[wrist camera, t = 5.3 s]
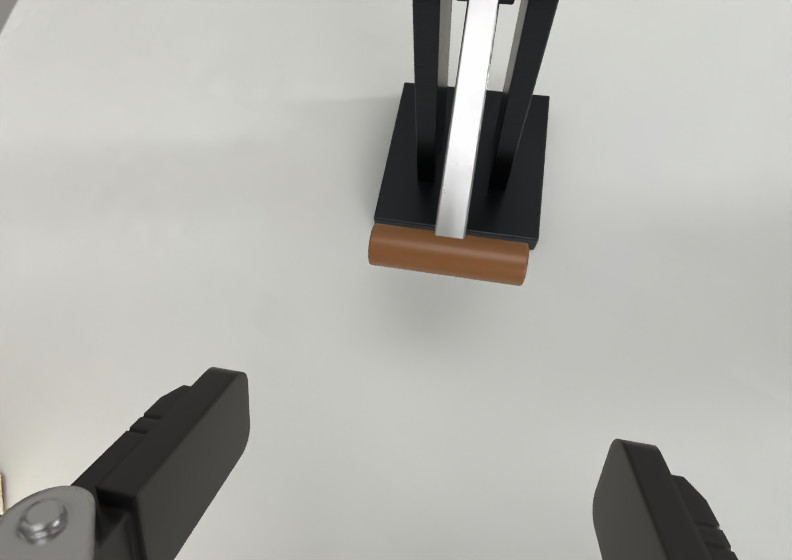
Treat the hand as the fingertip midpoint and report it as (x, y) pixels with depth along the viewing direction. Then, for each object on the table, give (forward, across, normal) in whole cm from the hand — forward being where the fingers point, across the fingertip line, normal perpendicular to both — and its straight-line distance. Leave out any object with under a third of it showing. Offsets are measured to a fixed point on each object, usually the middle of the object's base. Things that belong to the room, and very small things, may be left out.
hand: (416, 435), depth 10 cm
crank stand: (+21, 0, -2) cm, 21 cm away
